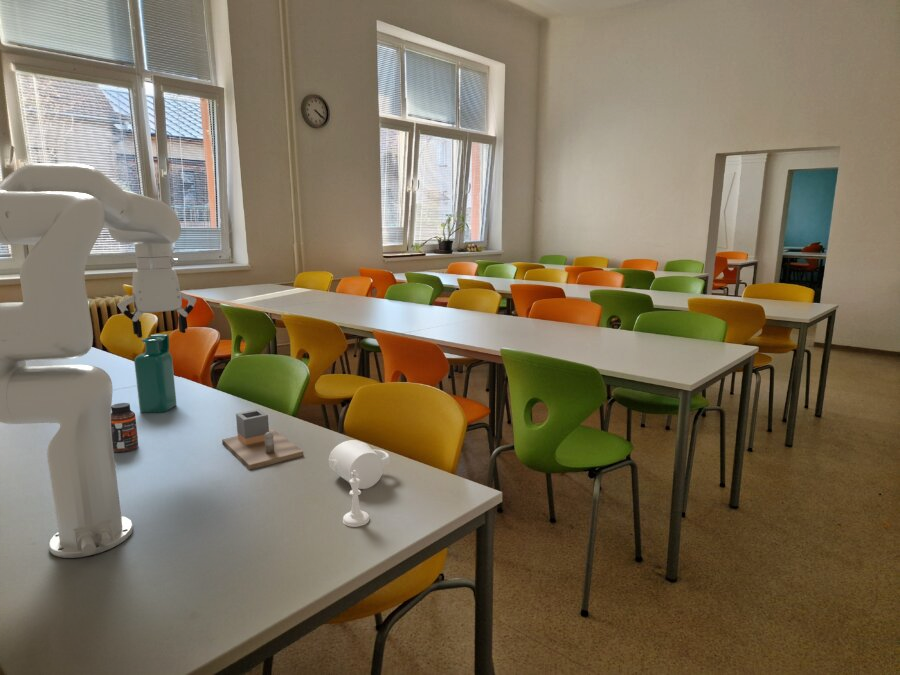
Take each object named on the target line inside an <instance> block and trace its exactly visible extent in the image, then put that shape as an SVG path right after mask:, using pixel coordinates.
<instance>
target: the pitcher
mask: <svg viewBox="0 0 900 675" xmlns="http://www.w3.org/2000/svg"><path fill="white" fill-rule="evenodd" d="M141 342H142V343H144V347H145V348H144V349H145V351H144V352H143V353H140V354H138V355H137V356H135V358H134V360H133V361H134V371H135V372H134V373H135V381H136V388H137V389H136V390H137V400H138V408H139V411H140V412H141V413H166V412H168V411H169V410H171V409H172V408H175V407H176V406H177V396H176V395H177V394H176V385H175V375H174V365H173V363H174V362H173V356H172V354H171V352H169V351H170V334H168V333H165V334H162V333H161V334H157V333H156V334H154V333H153V334H150V337H145V338H144V337H143V338H141Z"/></svg>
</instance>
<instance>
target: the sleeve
mask: <svg viewBox="0 0 900 675" xmlns="http://www.w3.org/2000/svg"><path fill="white" fill-rule="evenodd" d="M235 416H236V432H237V436H238V439H239V440H241V441H242V442H243V443H244V444H245V445H248V444H252V443H257V442H261V441H265V437H264V436H265V434H266V433H267V432H269V429H270V428H269V426H270V425H269V424H270V423H269V415H268V413H266V412H264V411H263V410H262V409H260V408H258V409H254V410H248V411H244V412H239V413H235Z"/></svg>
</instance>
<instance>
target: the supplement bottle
mask: <svg viewBox="0 0 900 675" xmlns="http://www.w3.org/2000/svg"><path fill="white" fill-rule="evenodd" d="M136 418H137V417H136V413H135V412H134V411H133V410H131V404H130V403H129V402H119V403H114V404H113V405H112V404H111V433H112V443H113V452H114V453H115V452H116V453H126V452H130V451H132V450H134V449H136V448H138V447H139V436H138V427H137V426H138V425H137V419H136Z"/></svg>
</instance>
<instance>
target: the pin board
mask: <svg viewBox="0 0 900 675" xmlns="http://www.w3.org/2000/svg"><path fill="white" fill-rule="evenodd" d="M264 437H265V441H261V442H257V443H252V444H248V445H245V444H244V443H243V442H242V441H241V440H239V439H238V435H235V436H231V437H227V438H223V439H221V442H222V445H223V446H224V447H225V448H226V449H227V450H228V451H229V452H230V453H232V455H234V457H235V458H236V459H237V460H239V461H240V462H241V463H242V464H243V465H244V466H245V467H246V468H247V469H248V470H249V471H250V470H255V469H258V468H262V467H266V466H269V465H274V464H278V463H281V462H286V461H289V460H293V459H297V458H301V457H304V450H303V449H301V448H299V447H298V446H297V445H295V444H294V443H293V442H291V440H289V439H287V438H286V437H285V436H283V435H282V434H281V433H279V432H278V431H276V430H275V429H273V428H269V432H267V433H266V434H265V436H264Z"/></svg>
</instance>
